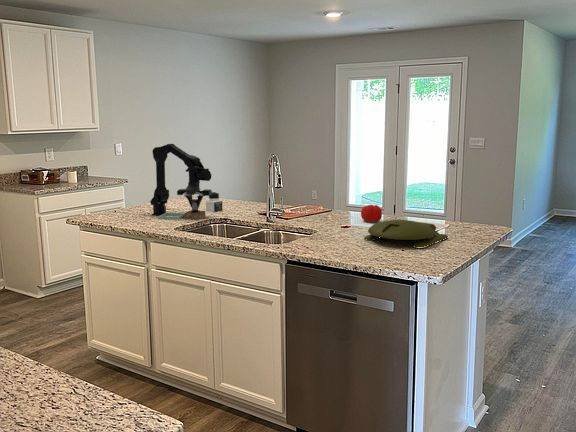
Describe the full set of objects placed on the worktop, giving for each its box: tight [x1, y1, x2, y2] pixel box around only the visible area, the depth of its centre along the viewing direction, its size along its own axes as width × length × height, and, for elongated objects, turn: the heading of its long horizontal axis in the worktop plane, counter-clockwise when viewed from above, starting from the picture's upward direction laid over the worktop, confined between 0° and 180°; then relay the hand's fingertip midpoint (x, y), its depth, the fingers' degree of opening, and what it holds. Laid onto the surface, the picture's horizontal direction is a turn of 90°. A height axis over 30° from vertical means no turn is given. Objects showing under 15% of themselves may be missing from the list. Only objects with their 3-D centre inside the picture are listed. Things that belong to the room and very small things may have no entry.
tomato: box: [360, 204, 383, 223], centre depth 312 cm, size 11×12×9 cm
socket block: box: [184, 209, 206, 220], centre depth 322 cm, size 9×9×4 cm
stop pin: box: [191, 198, 199, 213], centre depth 321 cm, size 4×4×9 cm
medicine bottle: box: [205, 191, 224, 213], centre depth 342 cm, size 7×7×12 cm
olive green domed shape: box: [364, 219, 448, 247], centre depth 268 cm, size 35×31×10 cm
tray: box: [157, 212, 186, 221], centre depth 321 cm, size 12×12×2 cm
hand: (195, 207), depth 321 cm, fingers closed on stop pin, 4 cm apart
